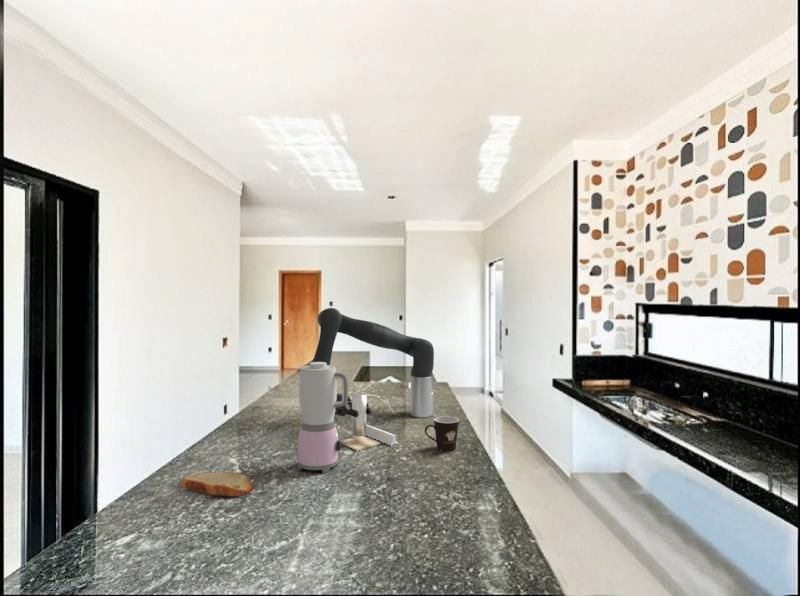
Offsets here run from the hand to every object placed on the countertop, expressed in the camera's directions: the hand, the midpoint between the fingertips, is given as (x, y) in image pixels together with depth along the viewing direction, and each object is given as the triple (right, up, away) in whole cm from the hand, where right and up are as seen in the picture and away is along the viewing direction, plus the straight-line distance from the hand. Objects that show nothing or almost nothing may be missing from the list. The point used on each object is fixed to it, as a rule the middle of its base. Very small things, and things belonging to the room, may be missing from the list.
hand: (363, 412), depth 162 cm
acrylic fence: (+5, -12, +8) cm, 15 cm away
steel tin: (-2, -8, +2) cm, 9 cm away
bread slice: (-38, -13, -34) cm, 53 cm away
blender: (-11, -12, -19) cm, 25 cm away
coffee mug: (+27, -12, -2) cm, 30 cm away
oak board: (-2, -12, +2) cm, 12 cm away
